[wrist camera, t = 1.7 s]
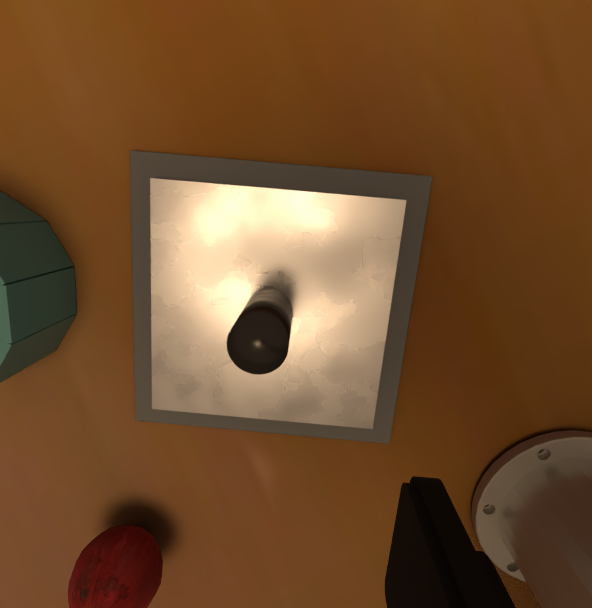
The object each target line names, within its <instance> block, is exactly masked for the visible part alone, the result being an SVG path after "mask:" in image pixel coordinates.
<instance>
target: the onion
mask: <svg viewBox="0 0 592 608" xmlns="http://www.w3.org/2000/svg"><path fill="white" fill-rule="evenodd" d="M162 563H163V560H162V555H161V551H160V548H159V545H158V543H157V541H156V539H155V538H154V537H153V536H152V535H151V533H150V532H149V531H147V530H145V529H143V528H142V527H139V526H133V525H122V526H117V527H113V528H110V529H108V530H106V531H104V532H102V533H101V534H100V535H98V536H97V537H96V538H95V539H93V540H92V541H91V542H90V543H89V544H88V545H87V546H86V547H85V548H84V549H83V550H82V552H81V554H80V556H79V558H78V559H77V561H76V564H75V567H74V569H73V572H72V575H71V578H70V581H69V588H68V601H69V607H70V608H147V607H148V606H149V604H150V602H151V601H152V599H153V597H154V596H155V594H156V592H157V590H158V588H159V586H160V584H161V577H162Z"/></svg>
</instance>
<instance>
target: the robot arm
mask: <svg viewBox="0 0 592 608" xmlns="http://www.w3.org/2000/svg"><path fill="white" fill-rule="evenodd" d="M471 518H472V524H473V529H474V532H475V534H476V536H477V539H478V541H479V543H480V545H481V547H482V548H483V550H484V552H485V553H484V552H482V551H475V549H474V547H473V545H472V543H471V540H470V538H469V536H468V534H467V532H466V530H465V528H464V526H463V524H462V522H461V520H460V518H459V516H458V514H457V512H456V510H455V508H454V506H453V503H452V501H451V499H450V497H449V495H448V493H447V491H446V489H445V487H444V485H443V483H442V481H441V480H440V479H438V478H426V477H415V476H414V477H412V478H411V480H410V483H403V484H402V487H401V492H400V498H399V504H398V509H397V515H396V521H395V526H394V532H393V538H392V543H391V549H390V555H389V561H388V566H387V572H386V578H385V597H386V603H387V608H516V607H515V606H514V604H513V602H512V600H511V598H510V596H509V594H508V592H507V590H506V588H505V586H504V584H503V582H502V580H501V579H500V577H499V575H498V573H497V571H496V569H495V567H494V565H493V563H494V564H495V565H496V566H497V567H498V568H499V569H501V570H502V571H503V572H505V573H506V574H508V575H510V576H512V577H515V578H517V579H519V580H521V581H525V582H527V584H528V586H529V588H530V589H531V591H532V593H533V595H534V596H535V598H536V600H537V601H538V603H539V605H540V607H541V608H592V432H586V431H575V430H570V431H557V432H552V433H547V434H543V435H539V436H536V437H534V438H531V439H529V440H526V441H524V442H521V443H520V444H518V445H516V446H515V447H513V448H512V449H510V450H508V451H507V452H505V453H504V454H503V455H502V456H501V457H500V458H498V459H497V460H496V461H495V462H494V463H493V464H492V465H491V466H490V468H489V469H488V470H487V471H486V473H485V474H484V475H483V477H482V479H481V480H480V482H479V484H478V486H477V488H476V491H475V494H474V498H473V501H472V512H471ZM491 561H492V562H493V563H492V562H491Z"/></svg>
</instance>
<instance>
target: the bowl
mask: <svg viewBox="0 0 592 608" xmlns="http://www.w3.org/2000/svg"><path fill="white" fill-rule="evenodd" d="M45 221H46V220H45V219H43V218H42V217H40V216H39V215H37V214H36V213H34V212H32V211H31V210H29V209H28V208H26V207H25V206H23V205H22V204H20V203H19V202H17V201H16V200H14V199H13V198H11V197H10V196H8V195H6V194H5V193H3V192H2V191H0V382H2V381H4V380H6V379H7V378H9V377H11V376H13V375H14V374H16V373H18V372H19V371H21V370H23V369H25V368H26V367H28V366H30V365H32V364H33V363H35V362H37V361H38V360H40V359H42V358H44V357H45V356H47V355H49V354H51V353H52V352H54V351H55V350H57V348H58V346H59V344H60V343H61V341H62V339H63V337H64V336H65V334H66V332H67V330H68V329H69V327H70V325H71V323H72V322H73V320H74V318H75V316H76V315H77V314H76V313H77V305H76V287H75V270H74V267H72V266H74V265H73V263H72V262H71V260H70V258H69V257H68V255H67V253H66V252H65V250H64V249H63V247H62V245H61V244H60V242H59V240H58V239H57V237H56V235H55V234H54V232H53V230H52V229H51V227H50V225H49V224H48V222H45Z"/></svg>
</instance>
